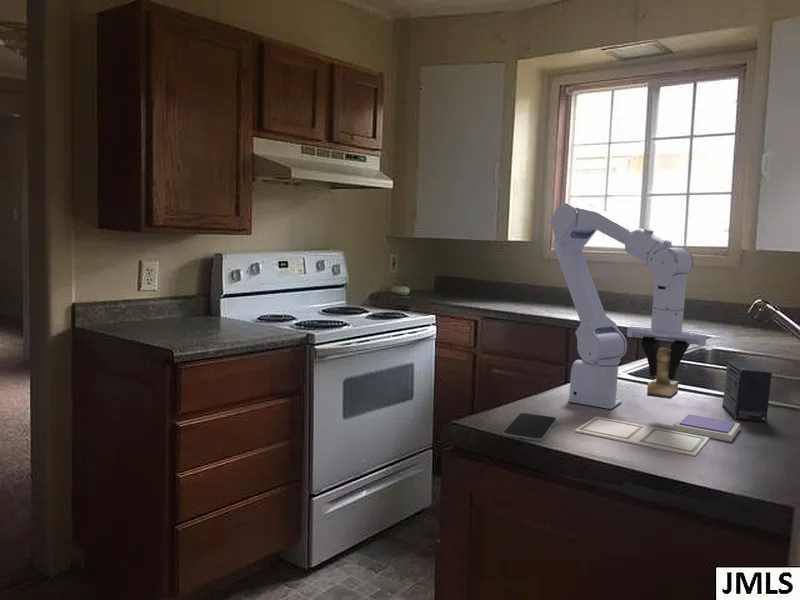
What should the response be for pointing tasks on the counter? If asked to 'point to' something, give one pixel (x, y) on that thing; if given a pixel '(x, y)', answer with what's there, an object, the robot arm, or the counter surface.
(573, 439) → the counter surface
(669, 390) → the stamp
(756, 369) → the small box
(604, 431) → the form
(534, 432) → the smartphone
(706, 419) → the ink pad
